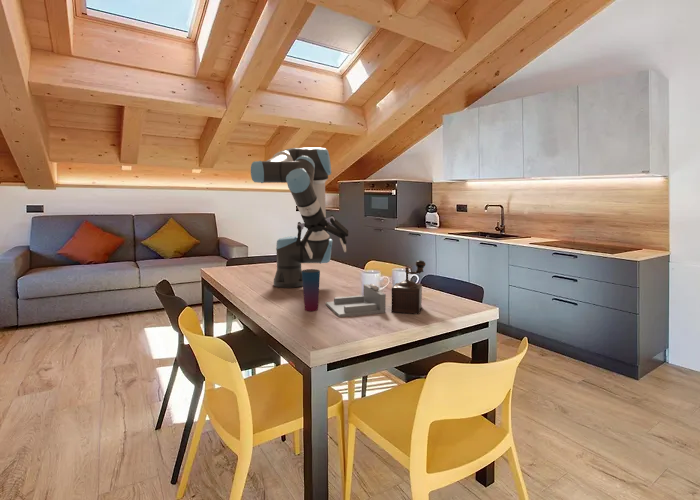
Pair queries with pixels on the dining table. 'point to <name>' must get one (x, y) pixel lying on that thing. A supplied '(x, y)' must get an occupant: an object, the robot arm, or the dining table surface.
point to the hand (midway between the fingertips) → (328, 253)
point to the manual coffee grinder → (408, 293)
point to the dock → (360, 303)
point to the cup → (311, 288)
